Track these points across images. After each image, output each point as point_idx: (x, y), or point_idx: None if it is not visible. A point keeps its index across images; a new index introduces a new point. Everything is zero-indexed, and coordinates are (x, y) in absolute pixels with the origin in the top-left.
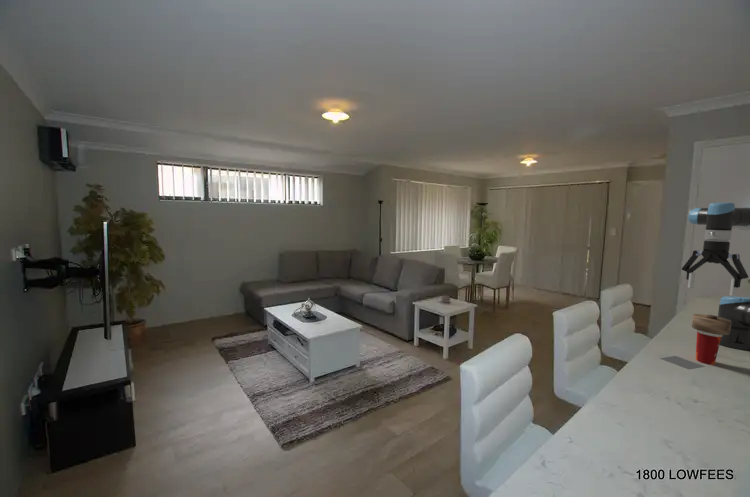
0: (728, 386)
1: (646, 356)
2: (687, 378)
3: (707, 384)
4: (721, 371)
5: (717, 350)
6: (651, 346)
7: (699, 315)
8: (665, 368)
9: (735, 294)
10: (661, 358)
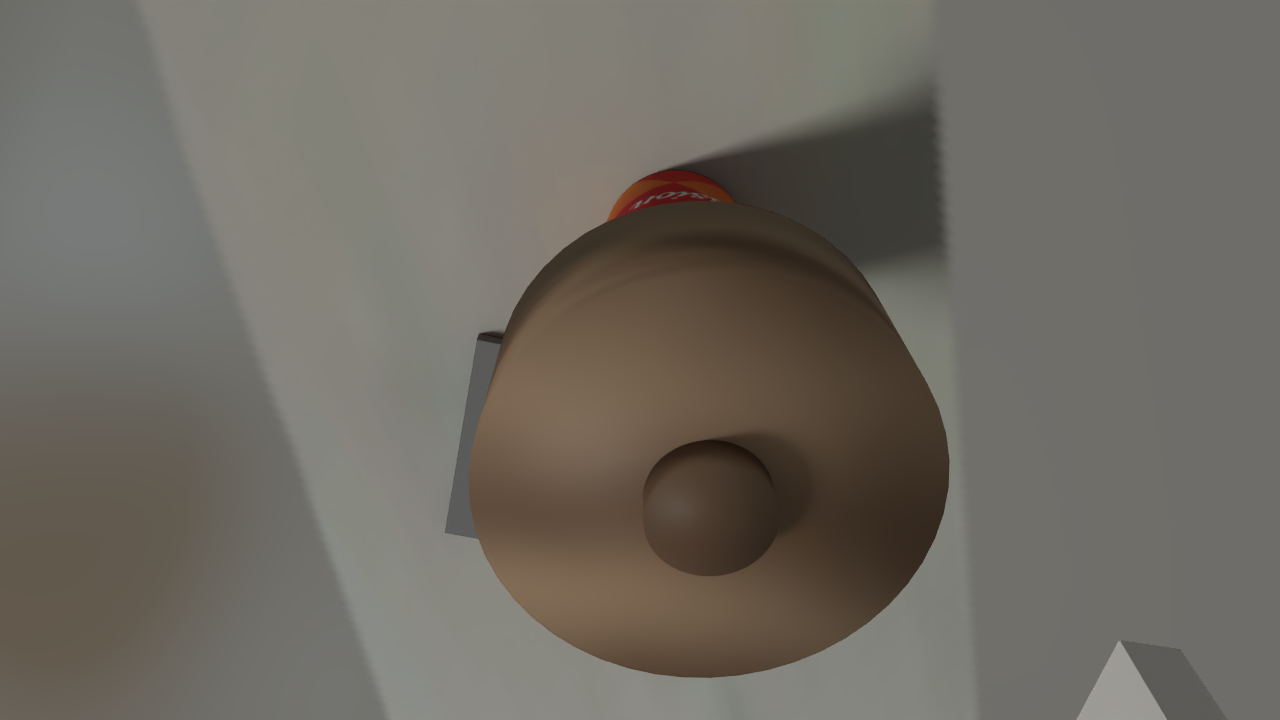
0: (895, 608)
1: (360, 542)
2: (698, 697)
3: (801, 686)
4: None
5: None
6: (216, 218)
7: (542, 494)
8: (551, 655)
9: (1181, 674)
10: (453, 524)
